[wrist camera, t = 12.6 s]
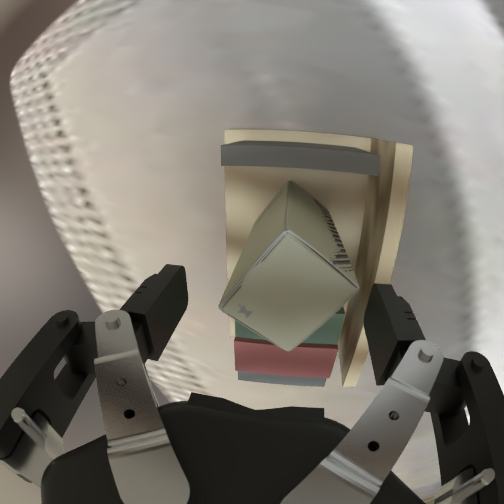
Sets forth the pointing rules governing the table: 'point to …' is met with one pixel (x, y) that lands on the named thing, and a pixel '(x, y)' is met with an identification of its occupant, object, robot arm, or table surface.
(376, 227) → the shelf
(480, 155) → the table surface
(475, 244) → the table surface
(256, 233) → the box
